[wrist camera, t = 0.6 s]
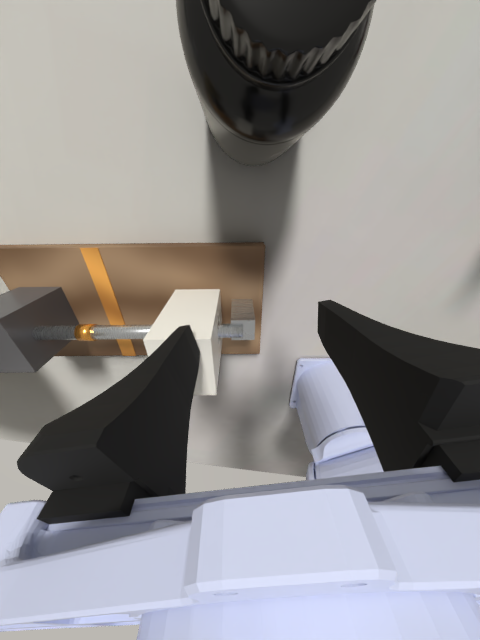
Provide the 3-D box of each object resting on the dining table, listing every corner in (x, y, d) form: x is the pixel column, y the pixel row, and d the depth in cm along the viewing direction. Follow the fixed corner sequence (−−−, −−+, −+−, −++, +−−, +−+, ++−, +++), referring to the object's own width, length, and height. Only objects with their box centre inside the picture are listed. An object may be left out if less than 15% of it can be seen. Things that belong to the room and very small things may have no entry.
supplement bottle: (282, 180, 16) (355, 157, 6) (197, 148, 15) (116, 56, 5) (324, 54, 13) (644, -459, 3) (219, 2, 12) (108, -1162, 2)
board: (258, 345, 25) (259, 354, 24) (61, 347, 25) (50, 356, 24) (263, 242, 19) (265, 246, 18) (0, 244, 19) (-19, 249, 17)
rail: (251, 316, 21) (255, 344, 17) (57, 318, 21) (15, 347, 17) (252, 298, 20) (255, 324, 16) (47, 301, 20) (0, 328, 16)
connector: (82, 330, 22) (35, 372, 17) (45, 331, 22) (-14, 372, 17) (61, 286, 19) (-3, 320, 14) (18, 287, 19) (-61, 320, 14)
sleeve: (222, 334, 21) (216, 395, 15) (183, 334, 21) (160, 395, 15) (220, 289, 19) (210, 339, 12) (175, 289, 19) (142, 340, 12)
